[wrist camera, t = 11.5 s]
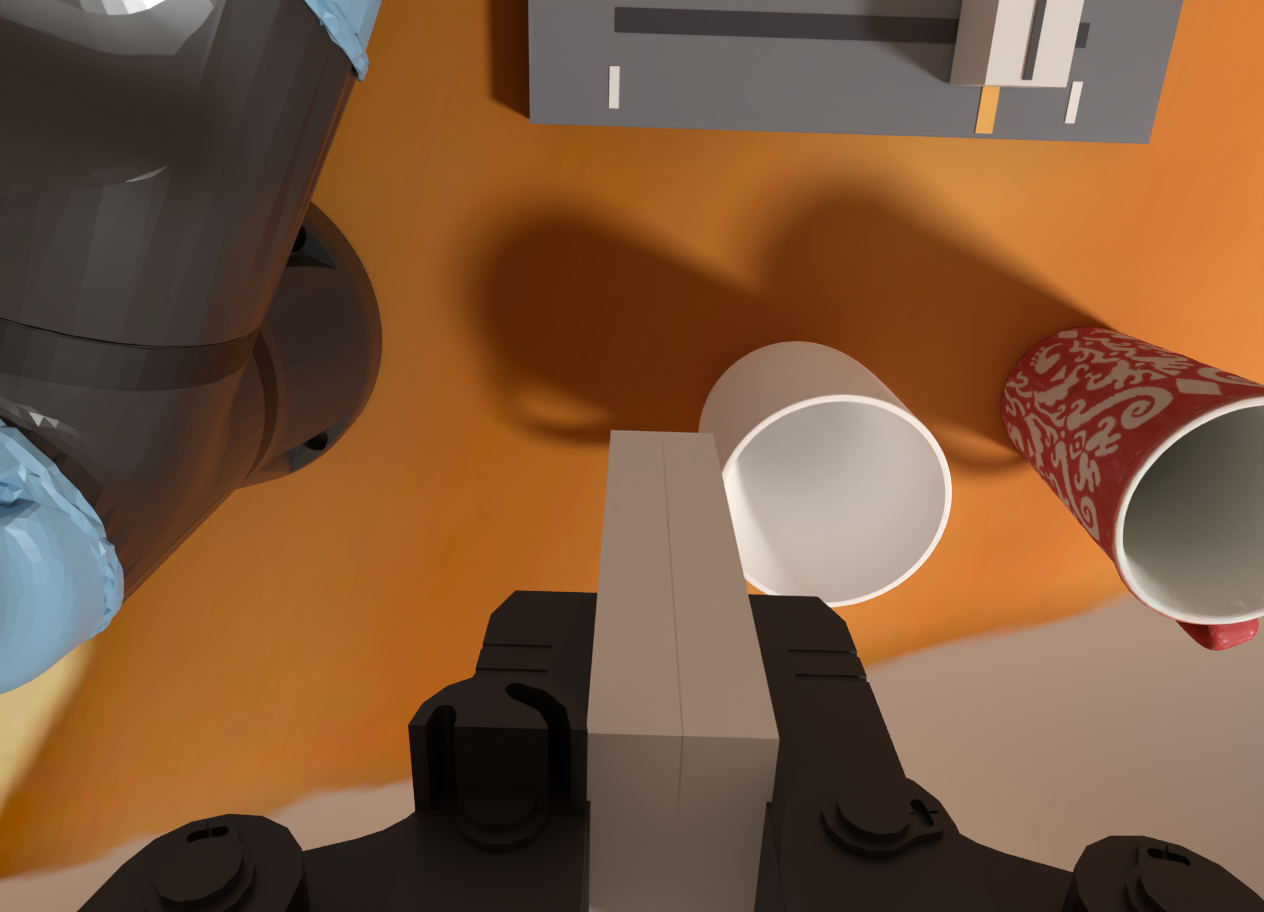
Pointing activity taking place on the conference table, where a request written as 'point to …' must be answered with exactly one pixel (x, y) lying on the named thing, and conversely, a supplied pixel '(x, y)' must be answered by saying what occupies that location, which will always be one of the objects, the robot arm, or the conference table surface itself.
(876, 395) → the mug
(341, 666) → the conference table surface
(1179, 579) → the mug
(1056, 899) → the robot arm
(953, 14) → the console
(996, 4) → the block
